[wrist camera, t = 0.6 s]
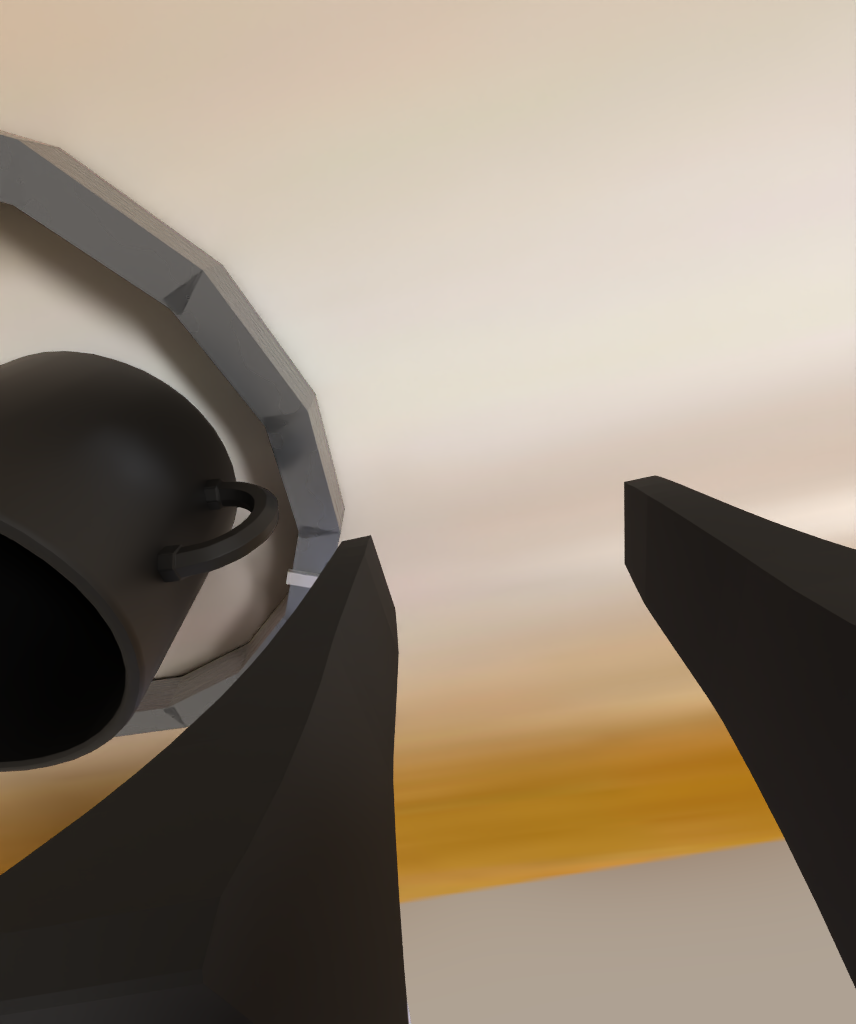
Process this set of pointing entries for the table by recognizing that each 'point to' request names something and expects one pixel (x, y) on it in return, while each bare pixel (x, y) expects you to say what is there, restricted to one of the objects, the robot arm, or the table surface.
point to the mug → (102, 544)
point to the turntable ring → (233, 349)
